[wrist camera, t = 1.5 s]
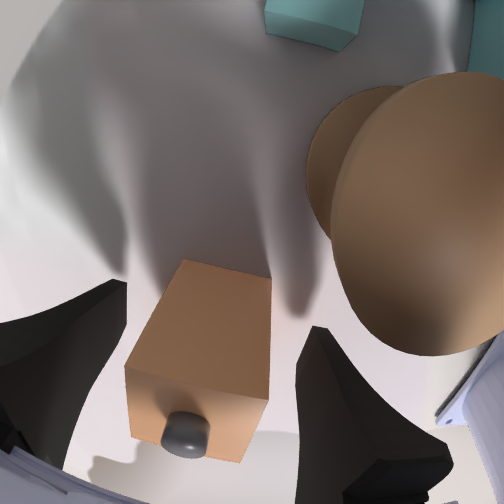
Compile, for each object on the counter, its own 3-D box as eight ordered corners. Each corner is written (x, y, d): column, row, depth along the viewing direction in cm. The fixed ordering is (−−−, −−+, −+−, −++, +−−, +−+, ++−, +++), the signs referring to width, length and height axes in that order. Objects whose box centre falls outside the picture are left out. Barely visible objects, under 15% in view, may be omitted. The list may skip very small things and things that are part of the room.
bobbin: (480, 127, 9) (587, 152, 4) (431, 272, 12) (499, 362, 7) (330, 62, 9) (386, 14, 4) (285, 236, 12) (293, 336, 6)
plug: (271, 278, 12) (267, 426, 6) (252, 345, 14) (237, 484, 8) (183, 258, 12) (112, 388, 6) (175, 327, 14) (123, 456, 8)
